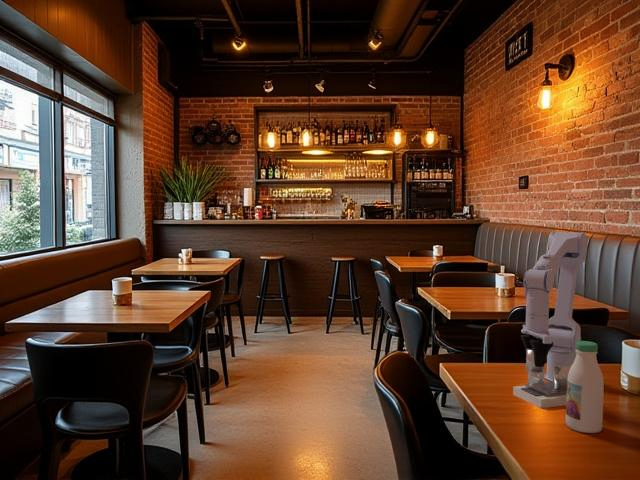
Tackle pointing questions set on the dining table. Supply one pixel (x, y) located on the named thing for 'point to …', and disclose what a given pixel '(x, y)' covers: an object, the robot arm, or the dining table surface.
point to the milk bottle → (585, 390)
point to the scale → (539, 397)
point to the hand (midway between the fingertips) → (535, 364)
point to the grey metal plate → (546, 388)
